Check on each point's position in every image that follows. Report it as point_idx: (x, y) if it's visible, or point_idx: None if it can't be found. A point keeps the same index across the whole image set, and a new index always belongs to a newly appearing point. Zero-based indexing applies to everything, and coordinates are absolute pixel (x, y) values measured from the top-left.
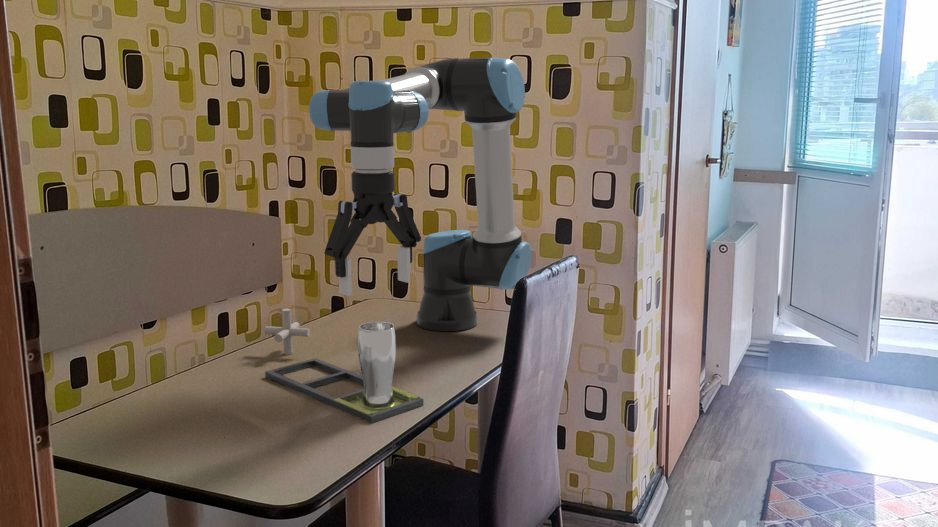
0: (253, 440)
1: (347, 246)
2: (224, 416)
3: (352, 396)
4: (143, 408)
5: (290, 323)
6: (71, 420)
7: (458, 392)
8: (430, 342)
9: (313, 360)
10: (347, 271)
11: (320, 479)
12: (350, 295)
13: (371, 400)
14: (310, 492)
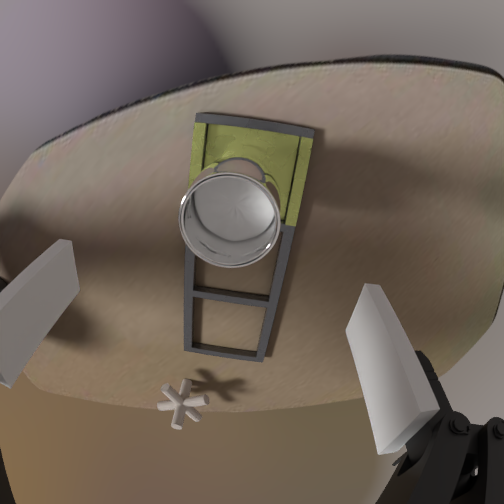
0: (433, 226)
1: (455, 477)
2: None
3: None
4: None
5: (177, 409)
6: None
7: (121, 112)
8: None
9: (191, 347)
10: (416, 360)
11: (470, 87)
12: (371, 284)
13: (269, 168)
14: (490, 82)
